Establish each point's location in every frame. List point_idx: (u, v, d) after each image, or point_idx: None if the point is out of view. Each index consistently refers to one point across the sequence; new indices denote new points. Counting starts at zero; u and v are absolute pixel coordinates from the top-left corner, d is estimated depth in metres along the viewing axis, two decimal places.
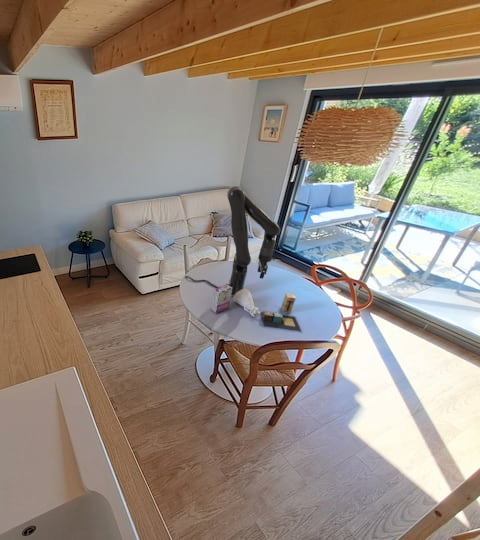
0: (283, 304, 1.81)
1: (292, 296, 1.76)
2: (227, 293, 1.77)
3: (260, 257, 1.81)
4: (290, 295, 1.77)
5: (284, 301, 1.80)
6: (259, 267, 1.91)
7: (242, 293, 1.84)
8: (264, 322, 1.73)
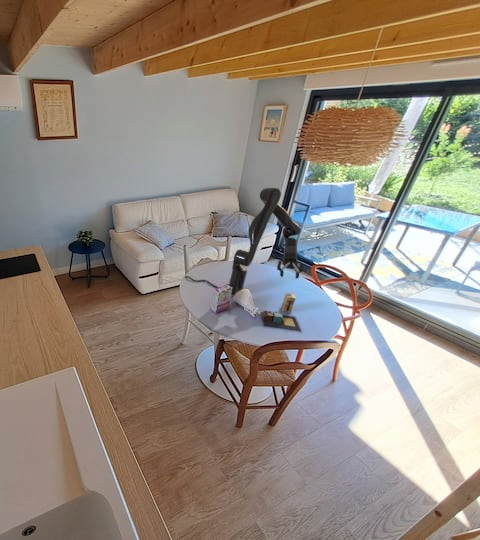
0: (283, 304, 1.81)
1: (292, 296, 1.76)
2: (227, 293, 1.77)
3: None
4: (290, 295, 1.77)
5: (284, 301, 1.80)
6: None
7: (242, 293, 1.84)
8: (264, 322, 1.73)
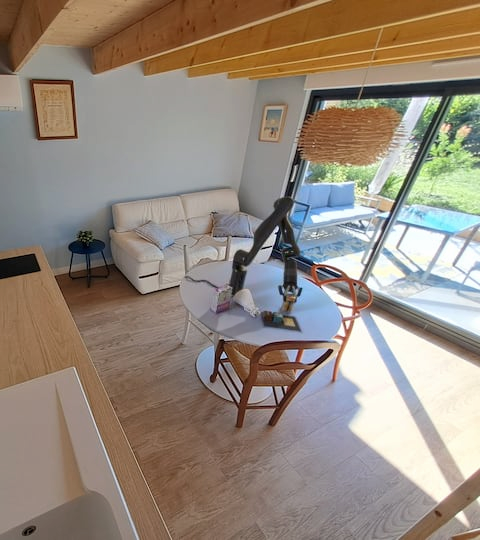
0: (283, 304, 1.81)
1: (292, 296, 1.76)
2: (227, 293, 1.77)
3: None
4: (290, 295, 1.77)
5: None
6: None
7: (242, 293, 1.84)
8: (264, 322, 1.73)
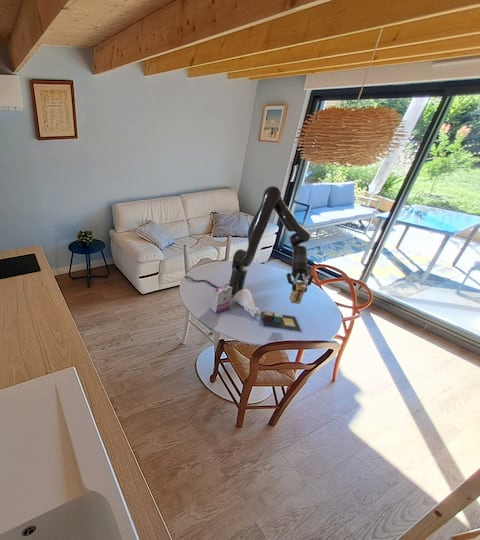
0: (292, 294, 1.67)
1: (302, 285, 1.62)
2: (227, 293, 1.77)
3: None
4: (300, 283, 1.63)
5: None
6: None
7: (242, 293, 1.84)
8: (264, 322, 1.73)
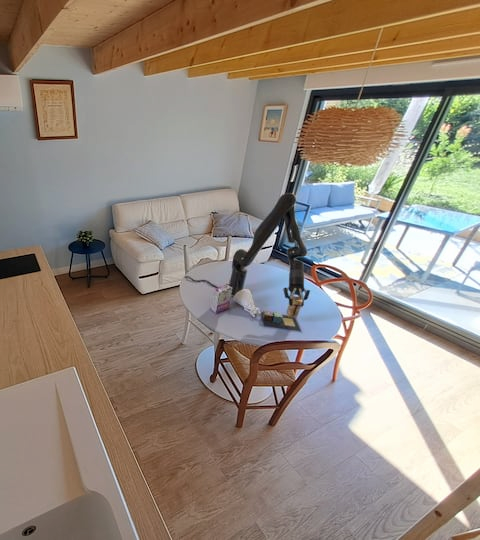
0: (289, 308, 1.68)
1: (299, 299, 1.63)
2: (227, 293, 1.77)
3: None
4: (296, 298, 1.64)
5: None
6: None
7: (242, 293, 1.84)
8: (264, 322, 1.73)
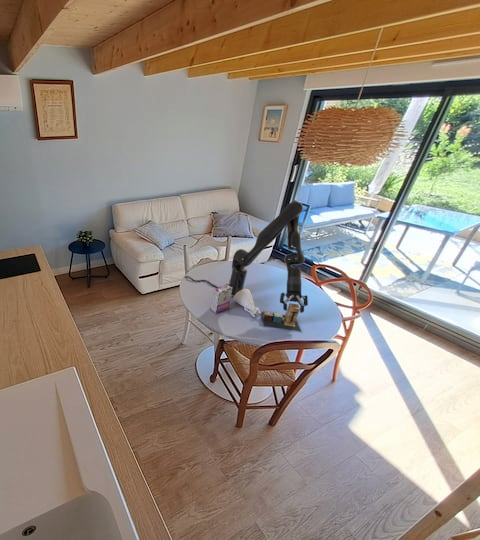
0: (286, 315, 1.71)
1: (296, 306, 1.66)
2: (227, 293, 1.77)
3: None
4: (294, 305, 1.67)
5: (288, 312, 1.70)
6: (300, 306, 1.68)
7: (242, 293, 1.84)
8: (264, 322, 1.73)
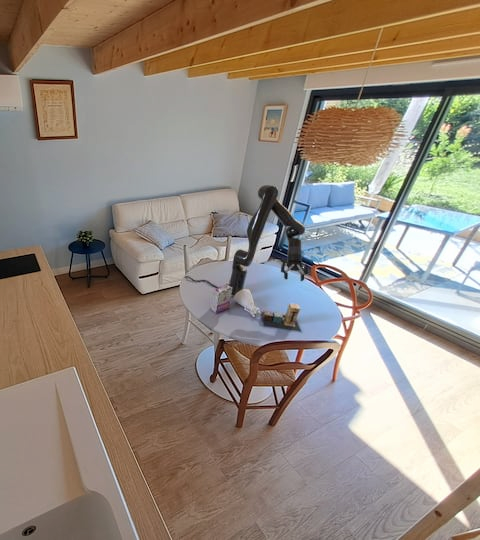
0: (286, 315, 1.71)
1: (296, 306, 1.66)
2: (227, 293, 1.77)
3: None
4: (294, 305, 1.67)
5: (288, 312, 1.70)
6: None
7: (242, 293, 1.84)
8: (264, 322, 1.73)
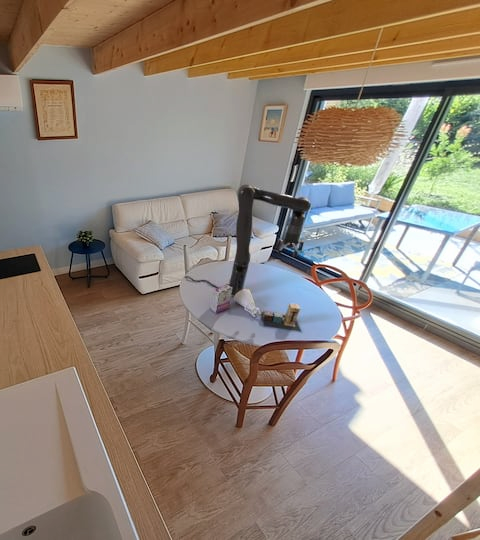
0: (286, 315, 1.71)
1: (296, 306, 1.66)
2: (227, 293, 1.77)
3: None
4: (294, 305, 1.67)
5: (288, 312, 1.70)
6: (294, 250, 1.76)
7: (242, 293, 1.84)
8: (264, 322, 1.73)
